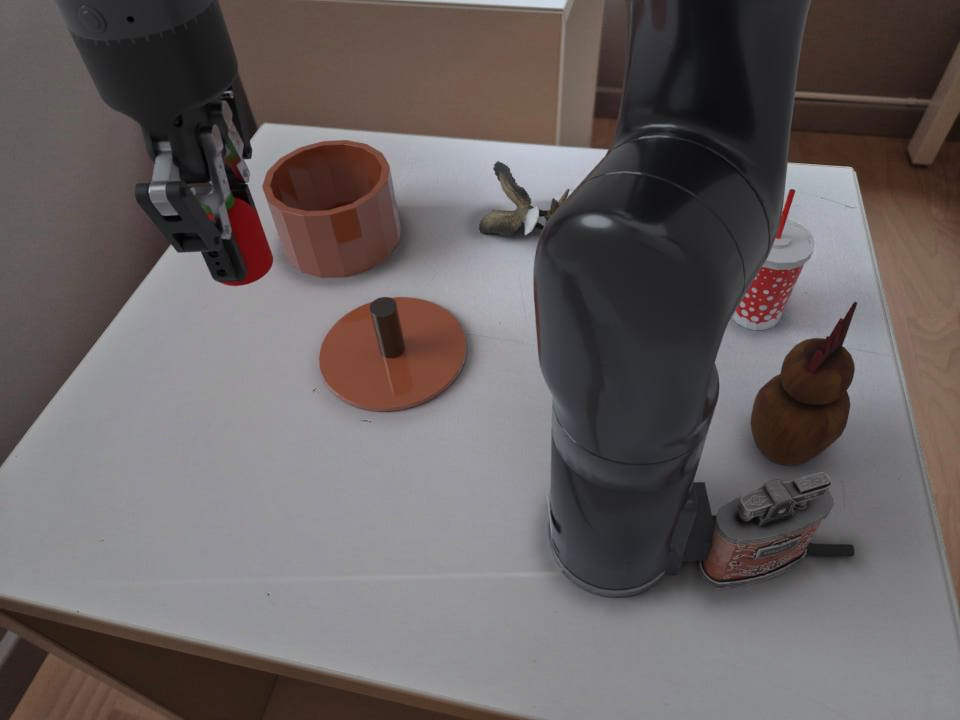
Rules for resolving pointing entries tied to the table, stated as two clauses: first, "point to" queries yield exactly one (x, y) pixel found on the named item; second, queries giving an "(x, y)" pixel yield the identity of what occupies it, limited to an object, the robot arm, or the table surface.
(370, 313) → the lid
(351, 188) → the pot
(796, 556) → the lighter
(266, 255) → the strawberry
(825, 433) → the wooden figurine
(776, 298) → the beverage cup
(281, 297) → the table surface
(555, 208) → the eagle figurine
